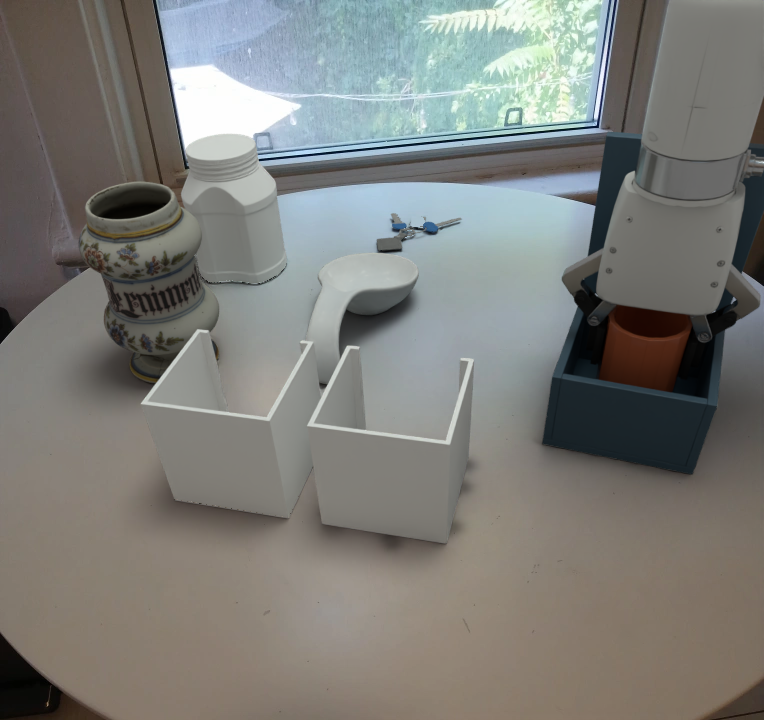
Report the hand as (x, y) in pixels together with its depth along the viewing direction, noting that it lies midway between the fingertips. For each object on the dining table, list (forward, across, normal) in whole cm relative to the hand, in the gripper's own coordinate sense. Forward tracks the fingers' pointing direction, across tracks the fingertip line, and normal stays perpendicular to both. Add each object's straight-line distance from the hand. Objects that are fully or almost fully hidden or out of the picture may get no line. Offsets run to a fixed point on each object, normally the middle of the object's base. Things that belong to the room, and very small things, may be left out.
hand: (639, 362), depth 68 cm
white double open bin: (+6, +25, +18) cm, 31 cm away
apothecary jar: (+6, +49, +6) cm, 49 cm away
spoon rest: (+6, +32, -6) cm, 33 cm away
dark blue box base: (+6, 0, 0) cm, 6 cm away
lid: (-10, 0, -6) cm, 12 cm away
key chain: (+6, +34, -31) cm, 47 cm away
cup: (+3, 0, 0) cm, 3 cm away
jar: (+6, +51, -16) cm, 54 cm away
